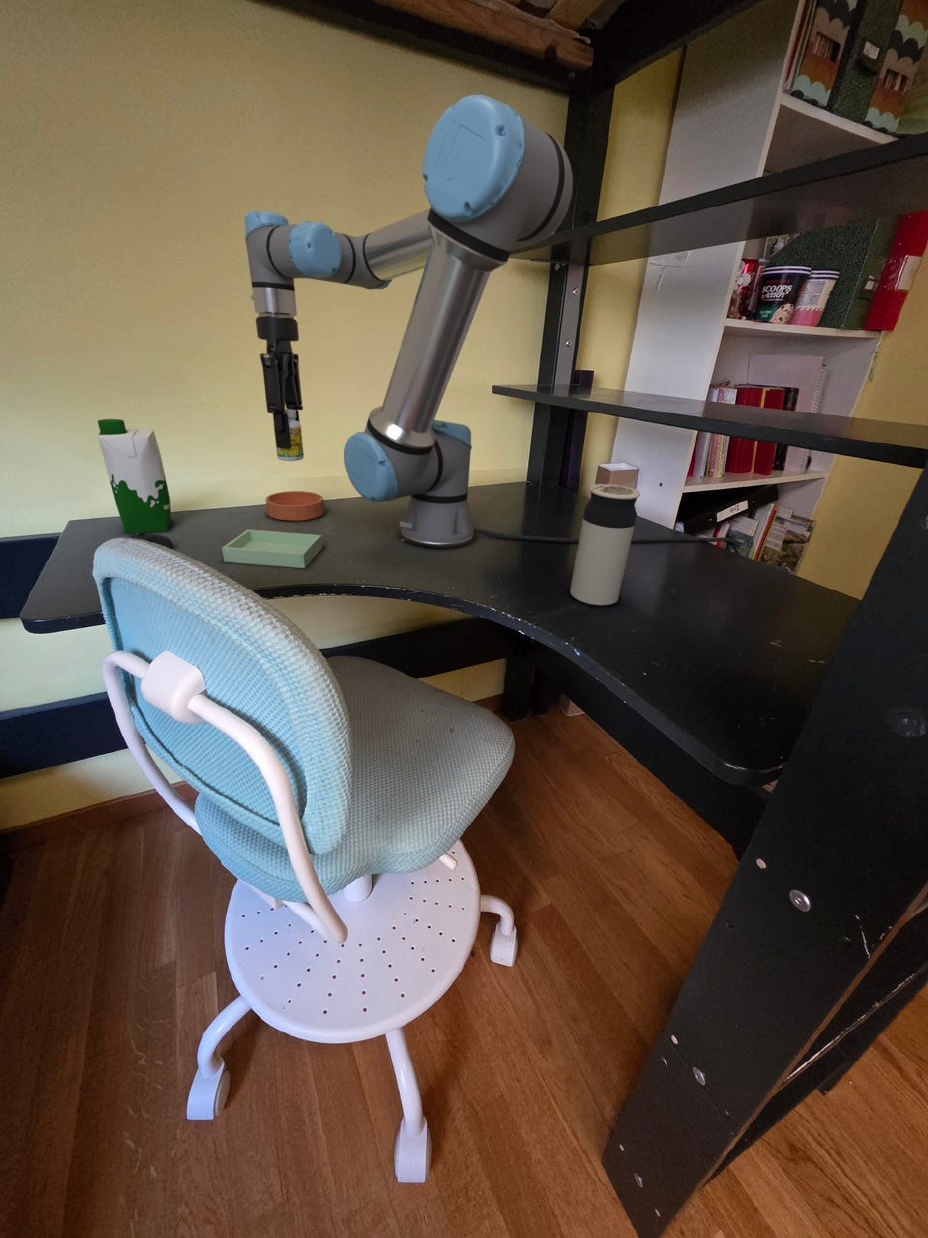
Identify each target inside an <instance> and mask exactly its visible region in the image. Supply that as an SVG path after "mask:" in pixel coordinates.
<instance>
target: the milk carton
mask: <svg viewBox="0 0 928 1238" xmlns="http://www.w3.org/2000/svg"><path fill="white" fill-rule="evenodd" d="M97 424H98V429H99V432H98V436H97V439H98V442H99V446H100V450H101V453H102V456H103V459H104V460H103V461H104V465H105V468H106V472H107V476H108V480H109V484H110V487H111V491H112V494H113V499H114V502H115V505H116V509H117V512H118V515H119V518H120V520H121V524H122V526H123V530H124V532H125V534H135V533H138V532H144V533H157V532H158V533H159V532H161V533H162V532H168V531H169V527H170V524H171V521H172V516H171V515H172V511H171V497H170V492H169V488H168V482H167V478H166V473H165V468H164V464H163V458H162V455H161V451H160V447H159V444H158V441H157V437H156V434H155V430H154V429H138V428H129V429H127V427H126V424H125V420H124V419H119V418H103V419H98V420H97Z"/></svg>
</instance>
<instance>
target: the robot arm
mask: <svg viewBox="0 0 928 1238" xmlns="http://www.w3.org/2000/svg"><path fill="white" fill-rule="evenodd" d="M422 178H423V179H424V180H425V183H424V185H423V189H424V194H425V197H426V199H427V201H428V203H429V205H430V208H428V209H425V210H423V211H420V212H418V213H415V214H413V215H411V216H408V217H405V218H403V219H400V220H398V221H395V222H393V223H390V224H387V225H385V226H383V227H381V228H378V229H375V230H373V231H371V232H368V233H366V234H364V235H360V236H354V235H350V234H345V233H343V232H338V231H334V230H333V229H332V228H331V227H330V226H329V225H328V224H327V223H324V222H321V221H310V220H304V221H303V222H302V221H301V222H299V223H292V224H290V222H289V220H288V218H287V217H286V216H284V215H282V214H280V213H276V212H271V211H264V210H260V211H259V210H253V211H249V212H247V213H246V214H245V216H244V229H245V236H244V241H245V245H246V252H247V253H246V254H247V261H248V268H249V276H250V282H251V290H252V294H251V296H250V298H251V300H252V302H253V307H254V313H256V314H258V316H256V318H255V326H256V335H257V338H258V339H259V340H262V341H263V340H264V341H266V347H265V351H266V353H264V352H263V353H260V354H259V359H260V362H261V367H262V375H263V385H264V394H265V403H266V412H267V413H268V414H272V418H273V419H272V420H273V429H274V428H275V433H274V438H275V437H276V441H275V447H276V446H277V448H291V442H290V432H289V422H288V414H285V409H290V410H295V411H296V418H295V420H296V421H298V422H299V423H300V412H299V411H303V410H304V406H303V400H302V399H303V397H302V388H301V380H300V368H299V367H300V366H299V364H300V363H299V361H300V360H299V354H298V353H294V352H293V349H292V348H293V347H292V344H291V343H292V342H298V341H299V340H300V335H299V324H298V321H297V319H295V317H297V316H298V308H297V300H296V299H297V298H296V297H297V296H296V288H295V279H307V280H309V279H310V280H316V281H322V282H329V283H335V284H340V285H347V286H352V287H359V288H363V289H366V290H384V289H386V288H388V287H389V285H390V283H392V282H393V279H396V278H400V277H403V276H406V275H409V274H413V273H416V272H419V271H422V274H421V278H420V281H419V284H418V288H417V291H416V294H415V298H414V301H413V304H412V308H411V311H410V314H409V317H408V321H407V323H406V327H405V330H404V334H403V336H402V340H401V343H400V347H399V350H398V353H397V356H396V359H395V362H394V366H393V368H392V372H391V376H390V379H389V382H388V384H387V388H386V392H385V394H384V399H383V402H382V404H381V405H380V406H376V407H373V409H372V410H371V411H370V412H369V415H368V417H367V422H366V425H365V429H364V431H357V432H356V433H354V434H351V435H350V436H349V437H348V438H347V439H346V442H345V445H344V449H343V463H344V464H343V465H344V468H345V472H346V473H347V476H348V477H347V478H348V479H349V482H350V483H351V485H352V486H353V488H354V490H355V491H356V492H357V494H358V495H360V496H361V497H362V498H363V499H365V500H367V501H370V502H373V503H381V502H393V501H394V500H398V499H402V498H406V497H409V502H408V505H407V508H406V511H405V513H404V516H403V519H402V520H399V527H401V528H400V536H401V538H402V539H403V540H404V541H405V542H408V543H409V544H412V545H415V546H419V547H423V548H428V549H429V548H431V549H455V548H460V547H464V546H466V545H469V544H471V543H472V542H473V540H474V535H475V534H479V535H484V536H489V537H493V538H498V539H504V540H505V539H506V540H520V541H538V542H553V543H571V544H572V543H573V544H578V543H579V538H575V537H573V538H572V537H556V536H555V537H554V536H540V535H522V534H507V533H506V534H505V533H499V532H494V531H489V530H485V529H481V528H476V527H474V524H473V520H472V516H471V513H470V512H471V511H470V508H469V504H468V494H469V482H470V481H469V480H470V467H471V465H470V464H471V450H472V448H473V446H472V432H471V429H470V427H469V426H467V425H465V424H463V423H457V422H451V421H445V420H439V419H435V418H436V415H437V413H438V410H439V408H440V405H441V403H442V400H443V397H444V395H445V392H446V389H447V387H448V384H449V382H450V379H451V377H452V374H453V372H454V369H455V367H456V364H457V361H458V359H459V357H460V353H461V351H462V348H463V346H464V344H465V341H466V338H467V335H468V332H469V330H470V328H471V325H472V322H473V320H474V317H475V315H476V312H477V310H478V307H479V304H480V303H481V299H482V297H483V295H484V292H485V289H486V286H487V283H488V281H489V278H490V276H491V273H492V272H494V271H495V270H497V269H499V268H501V267H503V266H505V265H507V263H508V261H509V259H510V256H511V253H512V251H515V250H519V249H522V248H527V247H530V246H534V245H537V244H538V243H541V242H542V241H545V240H546V239H548V238H549V237H550V236H551V235H553V234H554V233H555V232H556V231H557V229H558V228H559V227H560V226H561V224H562V223H563V221H564V219H565V217H566V215H567V214H568V210H569V207H570V205H571V201H572V196H573V187H574V179H573V178H574V177H573V171H572V165H571V162H570V160H569V156H568V155H567V151H566V150H565V149H564V147H563V145H562V144H561V143H560V142H559V141H558V140H557V139H556V138H555V137H553V136H552V135H551V134H549V133H548V132H546V131H543V130H542V129H540V128H539V127H538V126H537V125H536V124H534V123H532V122H531V121H530V120H529V119H528V118H526V117H524V116H523V115H522V114H521V113H520V112H518V111H516V110H515V109H514V108H512V107H511V106H510V105H509V104H507V103H503V102H501V101H499V100H497V99H494V98H492V97H490V96H487V95H484V94H471V95H467V96H464V97H462V98H460V99H459V100H458V101H457V102H456V103H455V104H452V105H451V106H448V108H447V109H446V110H445V111H444V112H443V114H442V115H441V116H440V117H439V118H438V120H437V122H436V124H435V125H434V127H433V129H432V131H431V133H430V136H429V138H428V141H427V143H426V146H425V150H424V155H423V161H422ZM300 424H301V423H300ZM692 537H693V538H696V539H699V540H702V541H705V542H704V543H720V542H723V543H724V542H726V543H731V544H733V546H735V547H736V548H741V547H742V546H741V544H740V542H738V541H737V540H735V539H734V538H732V537H726V536H725V537H701V536H700V537H698V536H692ZM691 540H693V541H691ZM671 542H672V543H673V542H675V543H677V542H682V543H683V542H696V541H695V540H694V539H691V538H690V540H688V538H687V539H684V538H680V539H636V540H631V544H635V543H636V544H637V543H639V544H640V543H671ZM699 542H701V541H699Z"/></svg>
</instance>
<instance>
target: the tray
mask: <svg viewBox="0 0 928 1238" xmlns="http://www.w3.org/2000/svg"><path fill="white" fill-rule="evenodd" d="M221 549H222V555H223V560H224V561H223V562H225V563H237V564H248V565H262V566H273V567H285V568H286V567H287V568H298V569H300V568H301V569H306V568H307V566H308V565H310V563H311V562H312V560H314V558H315V557H316V556H317V555H318V554H319V552H321V550H322V549H323V538H322V535H321V534H312V533H311V534H310V533H299V532H284V531H272V530H261V529H246V530H245V531H243V532H242V533H240V534H239V535H238V536H236V537H235V538H234V539H231V541H229V542H228V543H227V544H225V545H224V546H222V548H221Z"/></svg>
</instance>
